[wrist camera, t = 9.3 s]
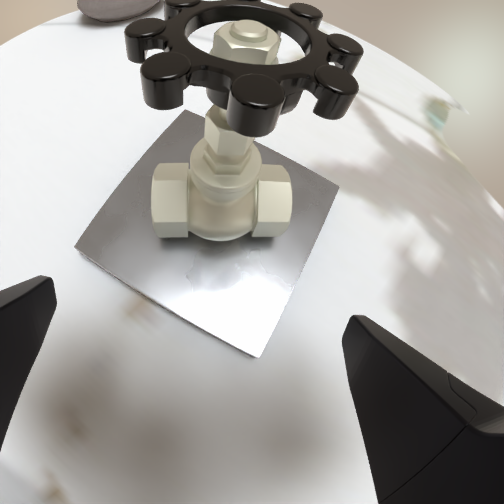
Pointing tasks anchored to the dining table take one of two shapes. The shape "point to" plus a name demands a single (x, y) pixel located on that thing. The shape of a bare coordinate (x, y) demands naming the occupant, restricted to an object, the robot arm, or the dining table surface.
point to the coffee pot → (114, 8)
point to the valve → (236, 108)
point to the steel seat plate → (208, 248)
